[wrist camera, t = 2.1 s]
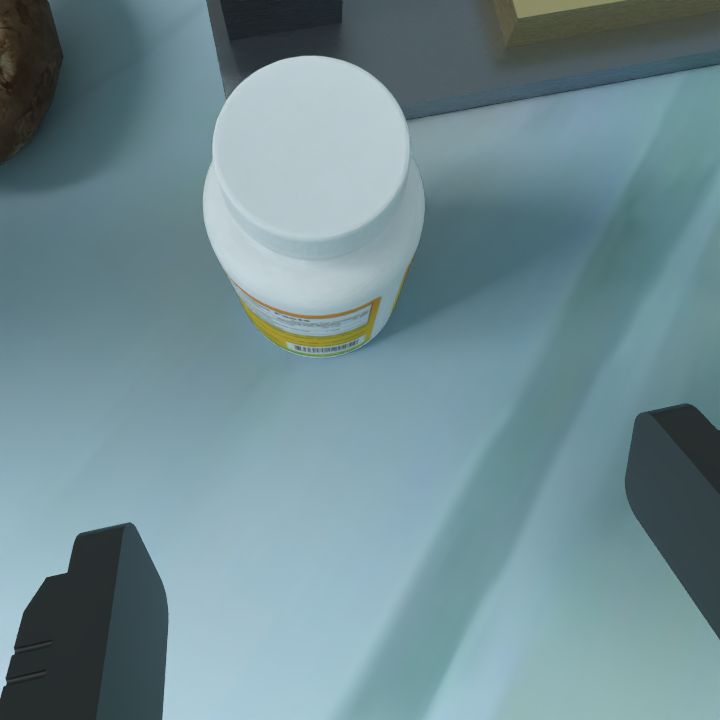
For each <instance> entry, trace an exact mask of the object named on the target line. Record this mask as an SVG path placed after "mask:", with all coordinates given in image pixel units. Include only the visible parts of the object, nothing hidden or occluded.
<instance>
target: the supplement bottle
mask: <svg viewBox="0 0 720 720" xmlns="http://www.w3.org/2000/svg"><path fill="white" fill-rule="evenodd" d="M212 154H213V160H212V162H211V165H210V167H209V170H208V173H207V176H206V180H205V185H204V191H203V215H204V223H205V227H206V231H207V234H208V237H209V240H210V243H211V245H212V248H213V250H214V252H215V254H216V256H217V258H218V260H219V262H220V264H221V266H222V267H223V269H224V271H225V273H226V275H227V276H228V278H229V280H230V282H231V284H232V286H233V288H234V290H235V292H236V294H237V295H238V297H239V299H240V301H241V303H242V305H243V307H244V309H245V311H246V313H247V314H248V316H249V318H250V319H251V321H252V322H253V324H254V325H255V326H256V328H257V329H258V330H259V331H260V332H261V333H262V335H263V336H264V337H265V338H267V339H268V340H269V341H270V342H272V343H273V344H274V345H276V346H278V347H279V348H281V349H283V350H285V351H288V352H290V353H293V354H296V355H300V356H304V357H311V358H330V357H336V356H340V355H344V354H347V353H349V352H352V351H354V350H356V349H358V348H360V347H362V346H363V345H365V344H366V343H368V342H369V341H370V340H371V339H373V338H374V337H375V336H376V335H377V334H378V333H379V332H380V331H381V329H382V328H383V327H384V326H385V324H386V323H387V321H388V319H389V318H390V316H391V314H392V312H393V310H394V308H395V305H396V302H397V300H398V297H399V294H400V292H401V289H402V286H403V284H404V281H405V278H406V276H407V273H408V271H409V268H410V265H411V263H412V260H413V258H414V255H415V253H416V250H417V247H418V244H419V240H420V237H421V232H422V228H423V223H424V214H425V197H424V188H423V183H422V179H421V175H420V172H419V169H418V166H417V164H416V162H415V160H414V158H413V156H412V154H411V140H410V133H409V128H408V125H407V122H406V119H405V117H404V114H403V112H402V110H401V108H400V106H399V104H398V103H397V101H396V99H395V98H394V97H393V95H392V94H391V93H390V92H389V90H388V89H387V88H386V87H385V86H384V85H383V84H382V83H381V82H380V81H379V80H377V79H376V78H375V77H374V76H372V75H371V74H370V73H368V72H367V71H365V70H363V69H362V68H360V67H358V66H356V65H353V64H351V63H349V62H346V61H343V60H339V59H335V58H330V57H324V56H299V57H292V58H287V59H283V60H279V61H277V62H274V63H272V64H269V65H267V66H265V67H263V68H261V69H259V70H257V71H256V72H254V73H253V74H251V75H250V76H249V77H248V78H246V79H245V80H244V81H243V82H242V83H241V84H239V85H238V86H237V87H236V89H235V90H234V91H233V92H232V94H231V95H230V96H229V98H228V99H227V100H226V102H225V104H224V106H223V107H222V109H221V111H220V114H219V116H218V119H217V122H216V126H215V130H214V134H213V145H212Z"/></svg>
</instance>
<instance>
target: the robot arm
mask: <svg viewBox="0 0 720 720" xmlns="http://www.w3.org/2000/svg"><path fill="white" fill-rule="evenodd" d="M625 489H626V494H627V498H628V501H629V504H630V507H631V509H632V511H633V513H634V515H635V516H636V518H637V520H638V521H639V523H640V524H641V525H642V527H643V528H644V530H645V531H646V533H647V534H648V536H649V537H650V539H651V540H652V541H653V543H654V544H655V546H656V547H657V549H658V550H659V552H660V553H661V555H662V556H663V558H664V559H665V560H666V562H667V563H668V565H669V566H670V568H671V569H672V571H673V572H674V574H675V575H676V576H677V578H678V579H679V581H680V582H681V584H682V585H683V587H684V588H685V590H686V591H687V593H688V594H689V595H690V597H691V598H692V600H693V601H694V603H695V604H696V606H697V607H698V609H699V610H700V611H701V613H702V614H703V616H704V617H705V619H706V620H707V622H708V623H709V625H710V626H711V627H712V629H713V630H714V632H715V633H716V635H717V636H718V638H719V639H720V430H717V429H716V428H715V427H714V426H713V425H712V424H711V423H710V422H709V421H708V419H707V418H706V417H705V416H704V415H703V414H702V413H701V412H700V411H699V410H698V409H697V408H696V407H694V406H693V405H690V404H686V403H685V404H680V405H676V406H671V407H666V408H662V409H657V410H653V411H648V412H643V413H640V414H639V415H638V416H637V417H636V419H635V423H634V429H633V435H632V441H631V446H630V452H629V458H628V464H627V470H626V476H625ZM167 636H168V605H167V598H166V593H165V589H164V586H163V583H162V581H161V578H160V576H159V574H158V572H157V570H156V568H155V566H154V564H153V562H152V560H151V558H150V556H149V553H148V551H147V549H146V547H145V545H144V543H143V541H142V539H141V537H140V535H139V533H138V531H137V529H136V527H135V526H134V524H132V523H130V522H129V523H125V524H120V525H115V526H111V527H106V528H102V529H97V530H92V531H88V532H83V533H80V534H78V536H77V537H76V539H75V541H74V545H73V549H72V554H71V559H70V563H69V568H68V572H67V573H64V574H60V575H55V576H51V577H47V578H46V579H45V581H44V582H43V584H42V585H41V587H40V588H39V590H38V591H37V593H36V594H35V596H34V597H33V599H32V600H31V602H30V603H29V605H28V606H27V608H26V609H25V611H24V612H23V616H22V620H21V624H20V627H19V631H18V635H17V639H16V642H15V646H14V650H15V654H14V655H12V657H11V661H10V665H9V668H8V672H7V676H6V681H7V684H6V686H4V687H3V691H2V694H1V698H0V720H162V714H163V699H164V683H165V667H166V652H167Z"/></svg>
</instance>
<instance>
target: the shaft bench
mask: <svg viewBox="0 0 720 720" xmlns="http://www.w3.org/2000/svg"><path fill="white" fill-rule="evenodd" d="M206 1H207V6H208V11H209V16H210V21H211V26H212V31H213V36H214V41H215V46H216V51H217V56H218V61H219V66H220V71H221V76H222V81H223V86H224V91H225V96H226V100H227V99H228V98H229V96H230V95H231V94H232V92H233V91H234V90H235V89H236V87H237V86H238V85H239V84H241V83H242V82H243V81H244V80H245V79H246V78H248V77H249V76H250V75H251V74H253V73H254V72H256V71H257V70H259V69H261V68H263V67H265V66H267V65H269V64H272V63H274V62H277V61H279V60H283V59H287V58H292V57H299V56H324V57H330V58H335V59H339V60H343V61H346V62H349V63H351V64H353V65H356V66H358V67H360V68H362V69H363V70H365V71H367V72H368V73H370V74H371V75H372V76H374V77H375V78H376V79H377V80H379V81H380V82H381V83H382V84H383V85H384V86H385V87H386V88H387V89H388V90H389V92H390V93H391V94H392V95H393V97H394V98H395V99H396V101H397V103H398V104H399V106H400V108H401V110H402V112H403V114H404V117H405V119H406V120H407V119H413V118H418V117H424V116H430V115H435V114H441V113H446V112H452V111H458V110H463V109H469V108H474V107H480V106H486V105H491V104H497V103H503V102H508V101H514V100H519V99H525V98H531V97H536V96H542V95H547V94H553V93H559V92H564V91H570V90H575V89H581V88H587V87H592V86H598V85H603V84H609V83H615V82H620V81H626V80H632V79H637V78H643V77H648V76H654V75H660V74H665V73H671V72H676V71H682V70H688V69H693V68H699V67H704V66H710V65H716V64H720V0H206Z"/></svg>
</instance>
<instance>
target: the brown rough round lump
mask: <svg viewBox="0 0 720 720" xmlns="http://www.w3.org/2000/svg"><path fill="white" fill-rule="evenodd" d="M62 60H63V54H62V49H61V46H60V42H59V38H58V35H57V31H56V27H55V24H54V20H53V16H52V13H51V9H50V5H49V2H48V1H47V0H0V166H1V165H2V164H3V163H4V162H5V161H7V160H8V159H9V158H10V157H11V156H13V155H14V154H15V153H16V152H17V151H19V150H20V149H21V148H22V147H23V146H25V145H26V144H27V143H28V142H30V141H31V139H32V137H33V136H34V134H35V132H36V130H37V128H38V127H39V125H40V123H41V121H42V119H43V117H44V116H45V114H46V112H47V110H48V108H49V106H50V105H51V102H52V99H53V95H54V91H55V87H56V83H57V79H58V75H59V71H60V67H61V64H62Z"/></svg>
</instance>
